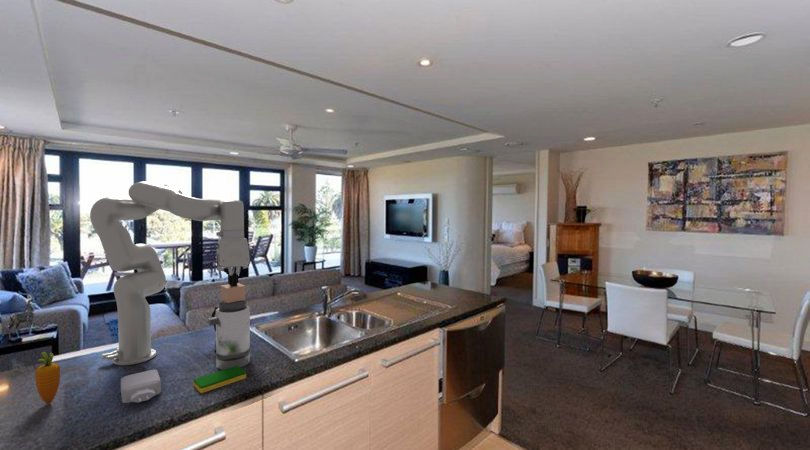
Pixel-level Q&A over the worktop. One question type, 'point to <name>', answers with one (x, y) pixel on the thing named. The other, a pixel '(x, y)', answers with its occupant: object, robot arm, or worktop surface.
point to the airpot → (232, 334)
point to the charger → (140, 386)
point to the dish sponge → (219, 379)
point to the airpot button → (232, 293)
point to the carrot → (47, 378)
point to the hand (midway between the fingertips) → (233, 285)
